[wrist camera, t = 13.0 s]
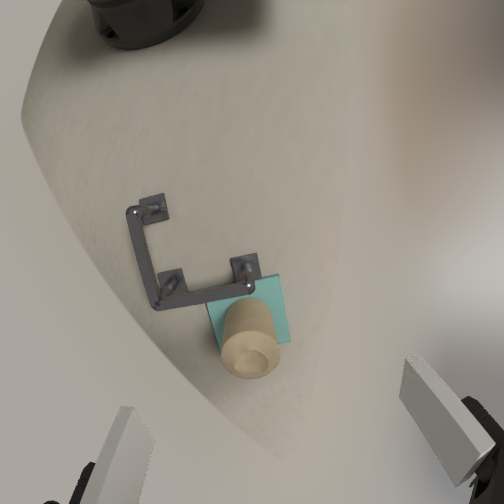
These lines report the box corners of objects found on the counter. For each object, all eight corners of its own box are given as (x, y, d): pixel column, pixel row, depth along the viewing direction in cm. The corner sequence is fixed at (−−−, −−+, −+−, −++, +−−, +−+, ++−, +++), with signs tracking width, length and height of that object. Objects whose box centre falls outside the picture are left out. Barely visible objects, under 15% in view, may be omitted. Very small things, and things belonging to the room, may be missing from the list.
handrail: (140, 199, 30) (113, 202, 23) (240, 175, 30) (240, 169, 23) (165, 295, 33) (147, 322, 26) (261, 277, 33) (267, 301, 26)
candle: (226, 337, 34) (221, 388, 24) (224, 297, 32) (217, 339, 23) (271, 336, 34) (280, 386, 24) (271, 296, 33) (283, 337, 23)
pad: (203, 288, 33) (202, 290, 32) (278, 273, 33) (279, 275, 32) (221, 351, 35) (221, 354, 34) (289, 338, 35) (290, 341, 34)
